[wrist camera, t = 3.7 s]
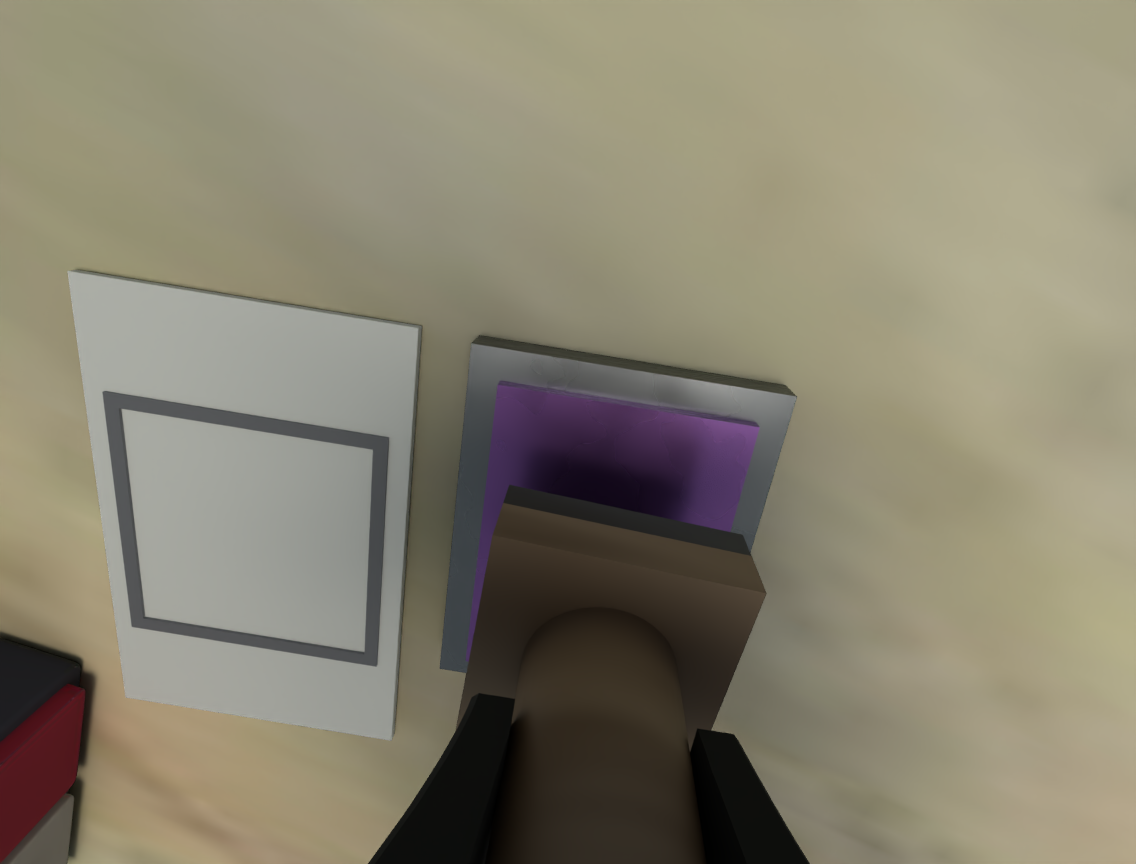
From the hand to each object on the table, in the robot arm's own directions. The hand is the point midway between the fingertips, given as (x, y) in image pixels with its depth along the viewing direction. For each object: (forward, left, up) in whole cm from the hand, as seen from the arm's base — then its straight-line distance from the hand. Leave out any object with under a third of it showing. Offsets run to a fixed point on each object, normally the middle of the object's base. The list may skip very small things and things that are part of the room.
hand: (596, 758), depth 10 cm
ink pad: (0, 0, -8) cm, 8 cm away
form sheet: (-2, +10, -8) cm, 13 cm away
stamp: (0, 0, -4) cm, 4 cm away
